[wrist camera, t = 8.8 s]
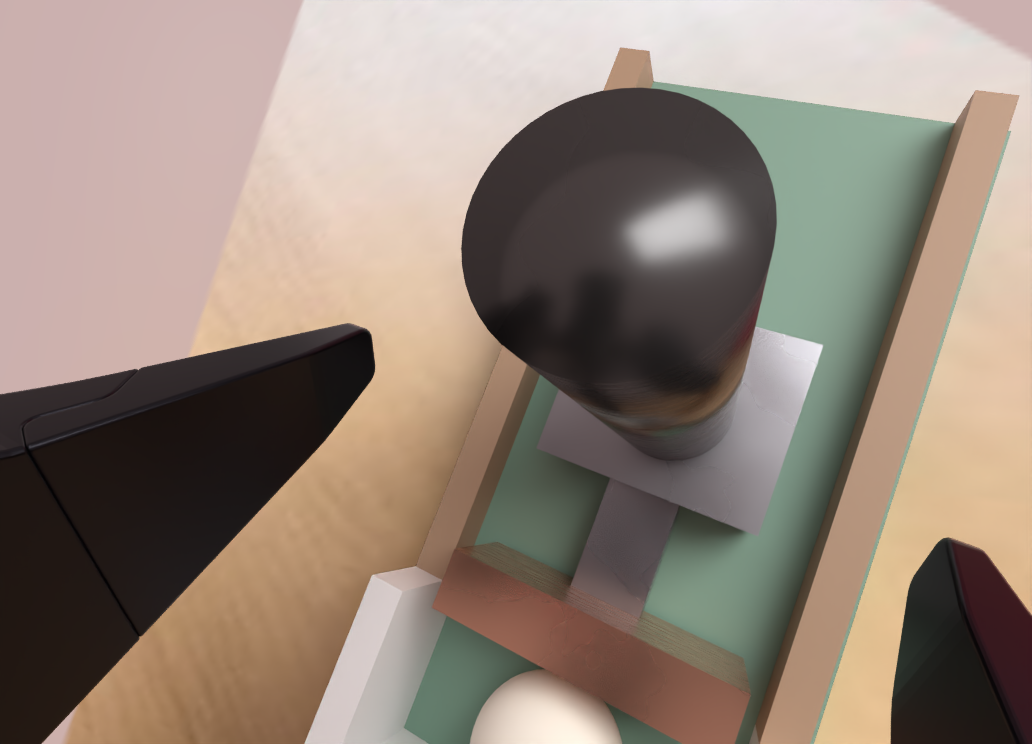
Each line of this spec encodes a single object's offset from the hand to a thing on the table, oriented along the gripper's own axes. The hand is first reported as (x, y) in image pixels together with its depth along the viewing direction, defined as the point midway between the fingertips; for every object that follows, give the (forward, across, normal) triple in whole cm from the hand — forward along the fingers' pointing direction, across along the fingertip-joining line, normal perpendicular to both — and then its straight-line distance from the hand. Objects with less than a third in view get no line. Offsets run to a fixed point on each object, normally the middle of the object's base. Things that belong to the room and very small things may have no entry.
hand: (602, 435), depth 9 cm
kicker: (+6, 0, +7) cm, 9 cm away
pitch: (+8, 0, +7) cm, 11 cm away
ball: (0, 0, +11) cm, 11 cm away
